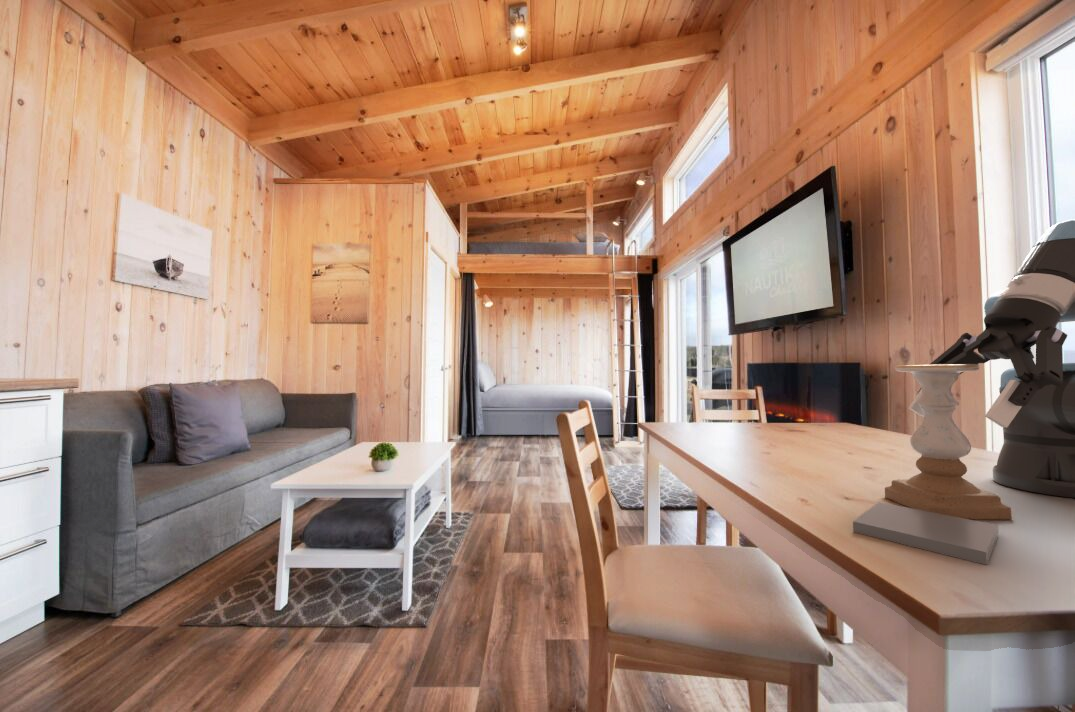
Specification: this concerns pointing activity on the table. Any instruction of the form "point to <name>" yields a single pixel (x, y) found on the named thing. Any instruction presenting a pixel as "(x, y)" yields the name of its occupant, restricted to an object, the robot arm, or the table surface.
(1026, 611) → the table surface
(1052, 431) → the robot arm
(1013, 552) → the table surface
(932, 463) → the candle holder
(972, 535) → the slate tile
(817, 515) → the table surface
